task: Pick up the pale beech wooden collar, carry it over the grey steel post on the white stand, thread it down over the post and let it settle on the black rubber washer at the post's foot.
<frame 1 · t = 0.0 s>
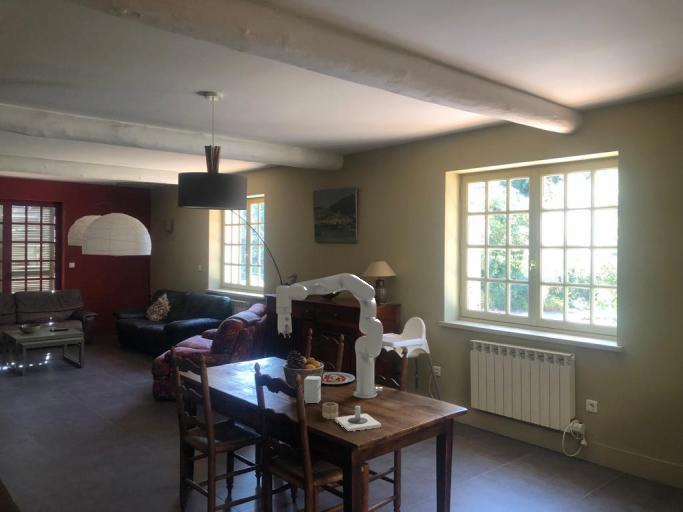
hand: (284, 343, 276), 31 cm above the table, tool pointing down, fingers open, 9 cm apart
beech collar: (330, 416, 258), on the table
ceramic plate: (333, 381, 324), on the table
supplement box: (312, 402, 282), on the table
steel post stand: (357, 424, 248), on the table
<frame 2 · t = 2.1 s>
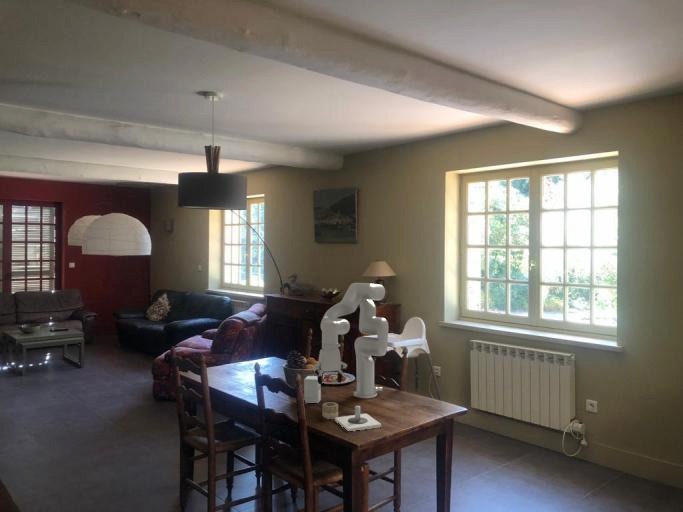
hand: (329, 383, 257), 16 cm above the table, tool pointing down, fingers open, 9 cm apart
nothing on the table moved.
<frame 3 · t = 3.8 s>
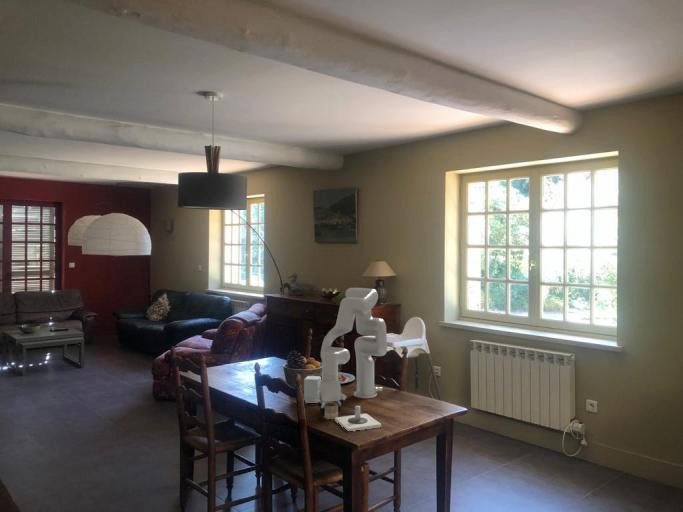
hand: (330, 414, 258), 1 cm above the table, tool pointing down, fingers closed on beech collar, 7 cm apart
beech collar: (330, 416, 258), on the table, touching gripper
everything else where it was.
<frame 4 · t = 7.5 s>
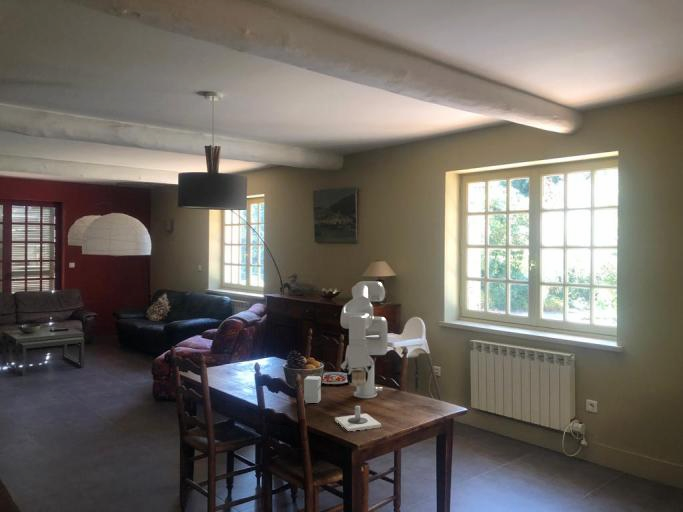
hand: (357, 381, 247), 20 cm above the table, tool pointing down, fingers closed on beech collar, 7 cm apart
beech collar: (357, 384, 247), point 18 cm above the table, touching gripper
everything else where it was.
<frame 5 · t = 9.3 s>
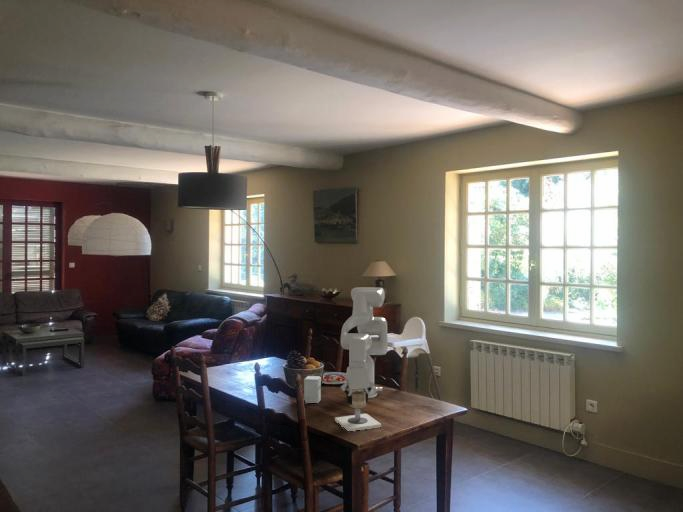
hand: (357, 402, 248), 10 cm above the table, tool pointing down, fingers closed on beech collar, 7 cm apart
beech collar: (357, 405, 248), point 9 cm above the table, touching gripper
everything else where it was.
when the fingers open (3 cm above the table, at t = 11.1 s): beech collar stays where it is, resting on steel post stand.
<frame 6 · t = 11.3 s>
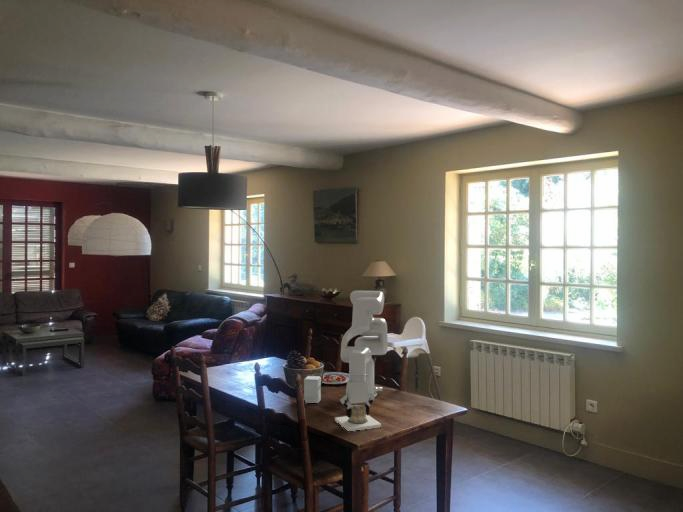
hand: (357, 415, 248), 4 cm above the table, tool pointing down, fingers open, 8 cm apart
beech collar: (357, 420, 248), point 2 cm above the table, touching steel post stand
everything else where it was.
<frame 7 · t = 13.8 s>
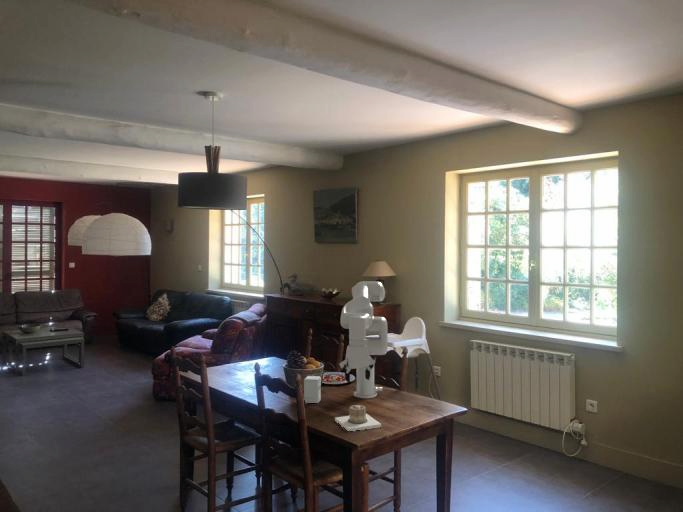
hand: (357, 380, 248), 20 cm above the table, tool pointing down, fingers open, 9 cm apart
nothing on the table moved.
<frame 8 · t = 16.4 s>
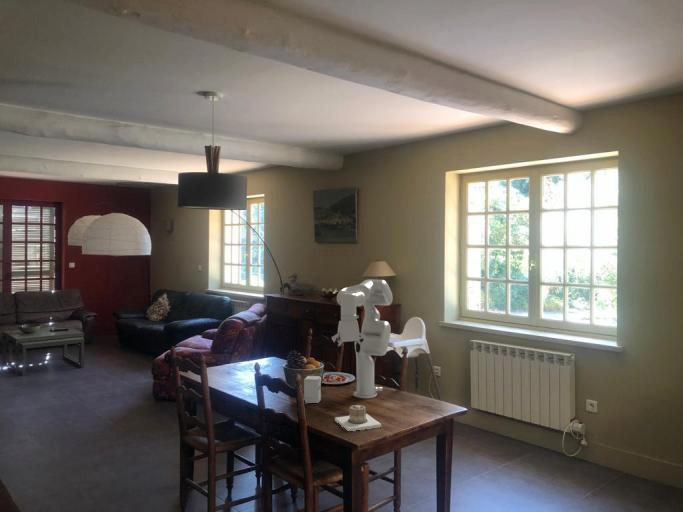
hand: (348, 353, 267), 28 cm above the table, tool pointing down, fingers open, 9 cm apart
nothing on the table moved.
at the end: beech collar 0.0 cm from the steel post stand (horizontally); beech collar point 1.6 cm above the table; the gripper is holding nothing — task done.
